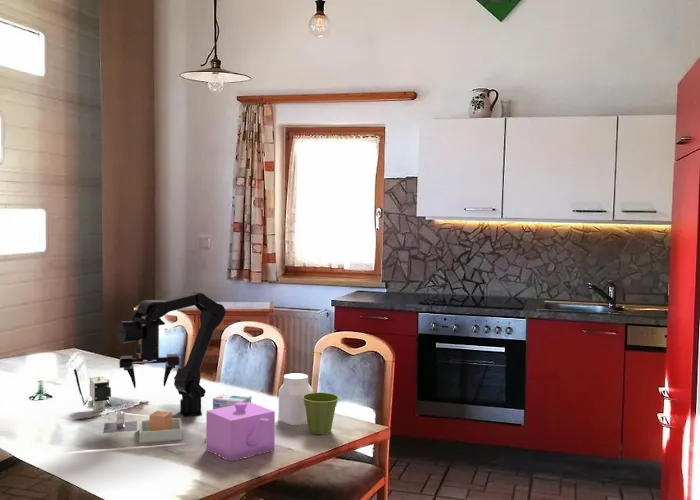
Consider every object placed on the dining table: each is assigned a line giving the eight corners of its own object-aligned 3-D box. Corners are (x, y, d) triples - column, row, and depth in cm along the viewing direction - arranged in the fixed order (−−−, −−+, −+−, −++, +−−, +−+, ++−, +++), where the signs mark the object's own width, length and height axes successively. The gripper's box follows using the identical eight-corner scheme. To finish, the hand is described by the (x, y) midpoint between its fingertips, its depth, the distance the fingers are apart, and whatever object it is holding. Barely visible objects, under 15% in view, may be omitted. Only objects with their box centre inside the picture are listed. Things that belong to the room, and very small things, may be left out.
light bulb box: (251, 429, 229) (252, 396, 229) (241, 435, 223) (242, 401, 222) (222, 425, 233) (222, 392, 232) (211, 431, 226) (211, 397, 226)
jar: (317, 421, 239) (318, 377, 238) (295, 426, 232) (295, 381, 232) (295, 413, 247) (296, 370, 247) (273, 419, 241) (274, 375, 240)
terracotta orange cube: (157, 431, 224) (157, 410, 223) (171, 432, 222) (172, 412, 222) (149, 436, 219) (149, 415, 218) (164, 437, 218) (164, 416, 217)
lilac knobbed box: (245, 469, 194) (245, 418, 194) (197, 445, 213) (197, 399, 212) (289, 457, 204) (290, 408, 204) (240, 435, 223) (240, 391, 222)
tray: (180, 428, 228) (180, 417, 228) (182, 441, 216) (183, 429, 216) (139, 431, 225) (139, 420, 225) (139, 444, 213) (139, 432, 212)
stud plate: (136, 422, 234) (136, 406, 234) (137, 432, 224) (137, 414, 224) (104, 425, 231) (104, 408, 231) (103, 434, 221) (103, 417, 221)
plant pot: (325, 439, 220) (325, 403, 219) (294, 433, 226) (294, 397, 225) (345, 430, 230) (346, 395, 229) (315, 423, 236) (315, 390, 236)
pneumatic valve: (95, 416, 240) (95, 381, 239) (89, 407, 250) (88, 374, 250) (112, 414, 243) (112, 379, 242) (105, 406, 253) (105, 372, 252)
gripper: (177, 334, 243) (177, 379, 244) (120, 336, 237) (120, 382, 238) (179, 340, 232) (179, 387, 233) (119, 342, 227) (119, 390, 228)
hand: (149, 386), depth 233 cm, fingers open, 9 cm apart
